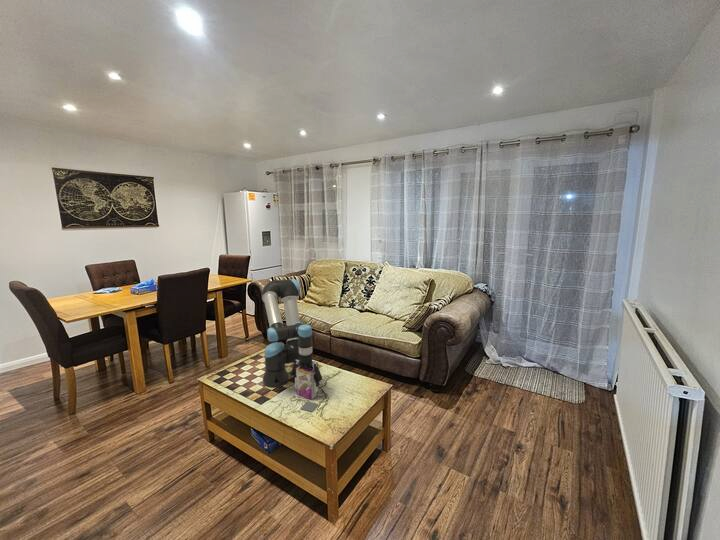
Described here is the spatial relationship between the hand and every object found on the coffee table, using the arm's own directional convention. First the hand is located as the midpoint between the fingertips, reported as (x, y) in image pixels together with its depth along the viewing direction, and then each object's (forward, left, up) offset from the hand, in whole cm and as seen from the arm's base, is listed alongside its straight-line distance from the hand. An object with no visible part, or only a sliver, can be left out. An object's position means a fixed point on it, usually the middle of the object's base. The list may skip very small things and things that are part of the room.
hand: (306, 389), depth 171 cm
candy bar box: (0, 0, -4) cm, 4 cm away
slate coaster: (+7, -9, -4) cm, 12 cm away
